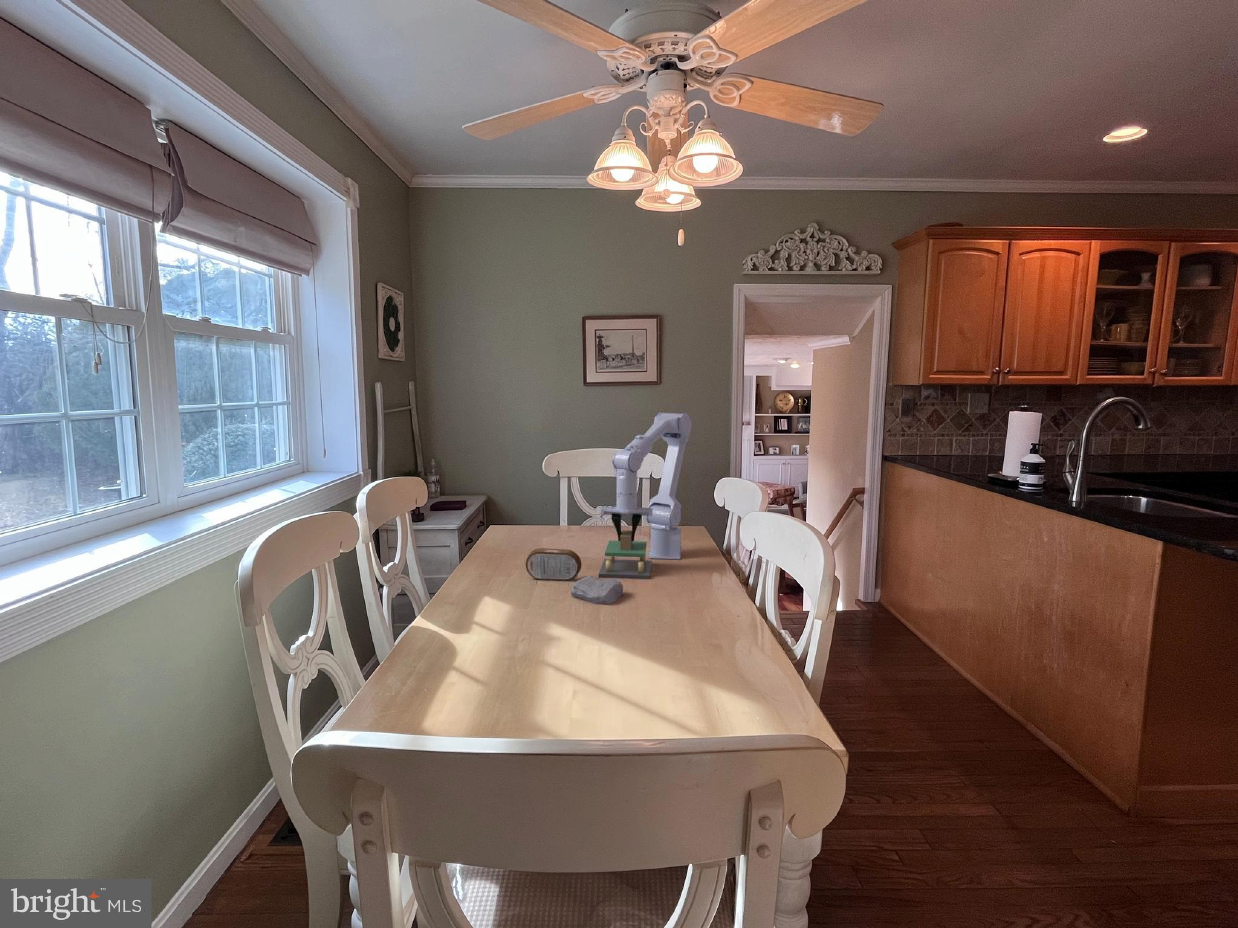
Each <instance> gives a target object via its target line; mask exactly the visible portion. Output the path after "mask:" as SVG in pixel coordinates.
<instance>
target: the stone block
mask: <svg viewBox="0 0 1238 928" xmlns="http://www.w3.org/2000/svg"><path fill="white" fill-rule="evenodd" d="M623 591H624V586H623V583H622V582H621V580H618V578H604V579H599V578H594V577H593V576H591V575H589V576H586V577H584V578H581V579H578V580H577V581H575V582H574V583H573V584H572V585H571V589H570V595H571V596H572V597H573V598H575V599H580V600H582V601H585V602H588V603H591V604H594V605H611V604H612V603H615V602H616V600H618V599H619V598H620V597H621V596H622V595H623Z"/></svg>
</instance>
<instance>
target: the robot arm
mask: <svg viewBox="0 0 1238 928" xmlns="http://www.w3.org/2000/svg"><path fill="white" fill-rule="evenodd" d="M691 430H692V421H691V417H690V415H689V414H688V413H673V412H671V413H670V412H663V411H662V412H661V411H660V412H659V413H658V414H657V415H655V417H654V421H653V424H652V425H651V426H650V427H649V428H648V430H647V431H646V432H645V433H644V434H639V435H636V436H635V437H634V439H632V441H631V442H630V443H629V444H627V446H626V447H625V448H623V449H619V450H618V451H616V452H615V453H614V455H613V458H612V460H611V464H612V468H613V469H614V476H615V477H616V505H615V506H601V507H600V516H605V515H606V516H609V515H611V516H610V517H611V521H612V523H613V526H614V528H615V531H616V534H617V539H618V540H617V541H620V536H621V532H622V516H631V531H632V536H631V541H635V536H636V535H635V534H636V532H637V529H638V526H639V524H640V522H641V520H642V516H645V517H644V518H645V521H646V523H648V527H649V528H650V549H649V553H648V554H649V555H648V558H649V559H659V560H660V559H661V560H667V559H668V560H681V553H682V547H683V546H682V545H681V544H682V543H681V542H682V539H681V538H682V536H681V535H682V533H681V532H682V530H681V529H682V528H681V527H678V526H679V524H680V523H681V520H682V518H681V517H682V513H681V512H682V505H681V503H680V502H679V501H678V500H677V498H676V492H677V488H678V483H679V478H680V473H681V469H682V464H683V459H684V454H685V449H686V445H687V443H688V442H689V439H690V436H691ZM660 438H661V439H662V440H663V441H664V442H666V444H667V450H666V454H665V460H664V464H663V469H662V474H661V479H660V484H659V488H658V492H657V494H656V495H654V496H653V497H651V498H650V500H649V504H648V506H647V507H641V506H637V505H638V471H639V470H640V469H641V468H642V465H643V464H642V463H643V462H644V460H645V458H646V457H647V456H648V455H649V453H651V452H652V450H653V448H654V443H655V442H656V441H658V440H659V439H660Z"/></svg>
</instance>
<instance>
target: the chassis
mask: <svg viewBox="0 0 1238 928" xmlns="http://www.w3.org/2000/svg"><path fill="white" fill-rule="evenodd" d="M615 558H616V556H608V558H604V559H603V561H602V564H601V567H600V570H599V572H598V578H604V579H633V580H635V579H636V580H651V572H652V565H653V564H652V563H653V562H652V560H649V559H648V560H646V553H645V557H639V560H638V559H617V558H616V559H615Z"/></svg>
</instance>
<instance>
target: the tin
mask: <svg viewBox="0 0 1238 928" xmlns="http://www.w3.org/2000/svg"><path fill="white" fill-rule="evenodd" d="M525 569H526V572H527V573H528V574H529V576H530V577H532V578H533V579H535V580H538V581H540V580H541V581H556V582H557V581H558V582H570V581H572V580H574V579H575V578H576V577H577V576H578V575H579V573H580V572H581V569H582V559H581V557H580V556H579V555H578V554H577V552H576V551H574V550H571V549H566V548H564V549H563V548H548V547H547V548H543V547H539V548H534V549H533V550H531V551H530V552H529V554H528V556H527V558H526V560H525Z"/></svg>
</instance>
